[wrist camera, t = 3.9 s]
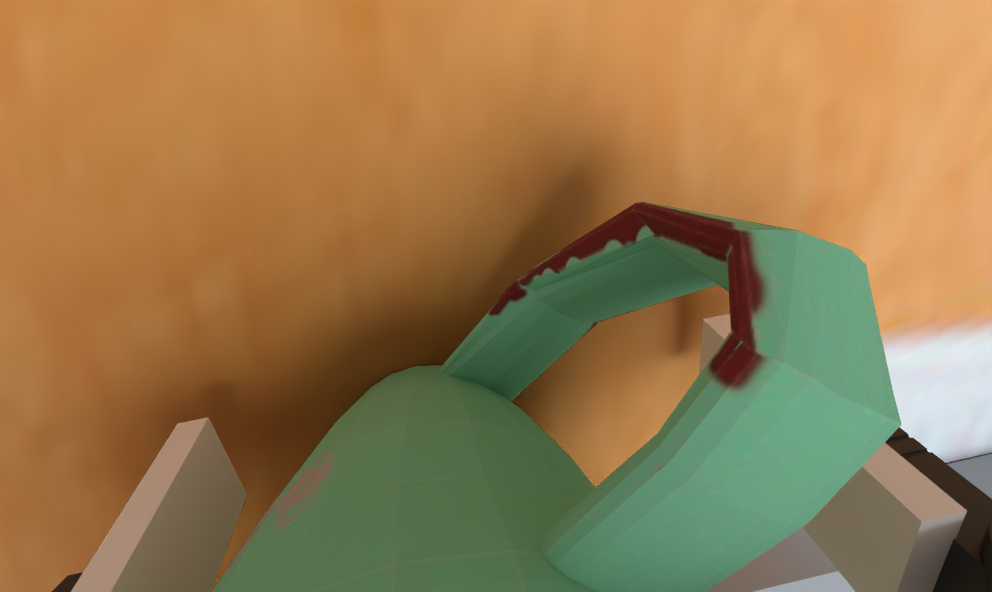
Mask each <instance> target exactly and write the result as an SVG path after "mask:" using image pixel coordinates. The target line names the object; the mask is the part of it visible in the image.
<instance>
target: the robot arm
mask: <svg viewBox="0 0 992 592" xmlns="http://www.w3.org/2000/svg"><path fill="white" fill-rule="evenodd" d="M730 331H731V323H730V314H726V315H721V316H716V317H711V318H706V319H703V322H702V340H701V358H700V373H701V372H702V371H703V369H704V368H705V366H706V365H707V364H708V362H709V361H710V359H711V358H712V357H713V355H714V354H715V352H716V351H717V350H718V348H719V347H720V345H721V344H722V343H723V341H724V340H725V338H726V337H727V336H728V334H729V333H730ZM246 497H247V493H246V491H245V489H244V487H243V485H242V483H241V481H240V479H239V477H238V475H237V473H236V471H235V469H234V467H233V465H232V463H231V461H230V459H229V457H228V455H227V453H226V451H225V449H224V447H223V445H222V443H221V441H220V439H219V437H218V435H217V433H216V431H215V429H214V427H213V425H212V423H211V421H210V419H209V417H207V418H202V419H197V420H192V421H187V422H182V423H177V425H176V427H175V428H174V430H173V431H172V433H171V435H170V436H169V438H168V439H167V441H166V442H165V444H164V446H163V447H162V449H161V450H160V452H159V453H158V455H157V457H156V458H155V460H154V461H153V463H152V464H151V466H150V468H149V469H148V471H147V472H146V474H145V476H144V477H143V479H142V480H141V482H140V483H139V485H138V487H137V488H136V490H135V491H134V493H133V494H132V496H131V498H130V499H129V501H128V502H127V504H126V505H125V507H124V509H123V510H122V512H121V513H120V515H119V517H118V518H117V520H116V521H115V523H114V524H113V526H112V528H111V529H110V531H109V532H108V534H107V535H106V537H105V539H104V540H103V542H102V543H101V545H100V546H99V548H98V550H97V551H96V553H95V554H94V556H93V558H92V559H91V561H90V562H89V564H88V565H87V567H86V569H85V570H84V572H83V573H78V574H73V575H69V576H67V577H66V578H65V579H64V580H63V581H62V582H61V583H60V584H59V585H58V586H57V587H56V588H55V589H54V590H53V591H52V592H211V590H212V587H213V585H214V582H215V579H216V577H217V574H218V571H219V569H220V566H221V563H222V561H223V558H224V555H225V553H226V550H227V547H228V545H229V542H230V539H231V537H232V534H233V531H234V529H235V526H236V523H237V521H238V518H239V515H240V513H241V510H242V507H243V505H244V502H245V499H246ZM803 528H804V529H805V531H806V532H807V533H808V534H809V536H810V537H811V538H812V539H813V540H814V542H815V543H816V544H817V545H818V547H819V548H820V549H821V550H822V551H823V553H824V554H825V555H826V556H827V558H828V559H829V560H830V561H831V562H832V564H833V565H834V566H835V567H836V568H837V570H838V571H839V572H840V573H841V575H842V576H843V577H844V578H845V579H846V581H847V582H848V583H849V584H850V586H851V587H852V588H853V589H854V590H855V592H992V499H991V498H990V497H989V496H987V495H986V494H985V493H984V492H982V491H981V490H980V489H978V488H977V487H976V486H974V485H973V484H972V483H971V482H969V481H968V480H967V479H965V478H964V477H963V476H962V475H960V474H959V473H958V472H956V471H955V470H954V469H953V468H951V467H950V466H949V465H947V464H946V463H945V462H943V461H942V460H941V459H940V458H938V457H937V456H936V455H934V454H933V453H932V452H931V453H929V452H928V451H927V448H925V447H924V446H923V445H921V444H920V443H919V442H918V441H916V440H915V439H914V438H909V436H908V434H907V433H906V432H905V431H903V430H902V429H901V428H898V429H897V430H896V431H895V432H894V433H893V434H892V435H891V436H890V437H889V439H888V440H887V441H886V442H885V443H884V444H883V445H882V446H881V447H880V448H879V449H878V450H877V451H876V452H875V453H874V454H873V455H872V457H871V458H870V459H869V460H868V461H867V462H866V463H865V464H864V465H863V466H862V467H861V468H860V469H859V470H858V471H857V472H856V473H855V474H854V476H853V477H852V478H851V479H850V480H849V481H848V482H847V483H846V484H845V485H844V486H843V487H842V488H841V489H840V490H839V491H838V492H837V494H836V495H835V496H834V497H833V498H832V499H831V500H830V501H829V502H828V503H827V504H826V505H825V506H824V507H823V508H822V509H821V510H820V512H819V513H818V514H817V515H816V516H815V517H814V518H813V519H812V520H811V521H810V522H809V523H808V524H806V525H805V526H803Z"/></svg>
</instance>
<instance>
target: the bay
mask: <svg viewBox="0 0 992 592" xmlns="http://www.w3.org/2000/svg"><path fill="white" fill-rule="evenodd" d="M947 465H949V466H950V467H951V468H953V469H954V470H955V471H956V472H958V473H959V474H960V475H962V476H963V477H964V478H965V479H967V480H968V481H969V482H971V483H972V484H973V485H974V486H976V487H977V488H978V489H980V490H981V491H982V492H984V493H985V494H986V495H987V496H989V497H990V498H991V499H992V454H988V455H984V456H979V457H975V458H970V459H966V460H962V461H957V462H953V463H949V464H947ZM706 592H855V590H854V589H853V588H852V587H851V586H850V584H849V583H848V582H847V581H846V579H845V578H844V577H843V576H842V575H841V573H840V572H839V571H838V570H837V568H836V567H835V566H834V565H833V564H832V562H831V561H830V560H829V559H828V558H827V556H826V555H825V554H824V553H823V551H822V550H821V549H820V548H819V547H818V545H817V544H816V543H815V542H814V540H813V539H812V538H811V537H810V536H809V534H808V533H807V532H806V531H805V529H804V528H803V527H802V528H800V529H799V530H797V531H796V532H794V533H793V534H791V535H790V536H788V537H787V538H785V539H784V540H782V541H781V542H779V543H778V544H776V545H775V546H773V547H772V548H770V549H769V550H767V551H766V552H764V553H763V554H761V555H760V556H758V557H757V558H755V559H754V560H752V561H751V562H749V563H748V564H747V565H745V566H744V567H742V568H741V569H739V570H738V571H736V572H735V573H733V574H732V575H730V576H729V577H727V578H726V579H724V580H723V581H721V582H720V583H718V584H717V585H715V586H714V587H712V588H711V589H709V590H708V591H706Z"/></svg>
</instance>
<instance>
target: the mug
mask: <svg viewBox="0 0 992 592" xmlns="http://www.w3.org/2000/svg"><path fill="white" fill-rule="evenodd" d="M716 285H720V286H721V287H723V288H724V289H726V290H727V291H729V302H730V323H731V331H730V333H729V334H728V336H727V337H726V338H725V340H724V341H723V343H722V344H721V345H720V347H719V348H718V350H717V351H716V352H715V354H714V355H713V357H712V358H711V359H710V361H709V362H708V364H707V365H706V366H705V368H704V369H703V371H702V372H701V373H700V375H699V376H698V378H697V379H696V380H695V382H694V383H693V385H692V386H691V387H690V389H689V390H688V392H687V393H686V394H685V396H684V397H683V399H682V400H681V401H680V403H679V404H678V406H677V407H676V408H675V410H674V411H673V413H672V414H671V415H670V417H669V418H668V420H667V421H666V422H665V424H664V425H663V427H662V428H661V429H660V431H659V432H658V434H656V435H655V436H654V437H653V438H652V439H651V440H650V441H648V442H647V443H646V444H645V445H644V446H643V447H642V448H640V449H639V450H638V451H637V452H636V453H635V454H634V455H632V456H631V457H630V458H629V459H628V460H627V461H625V462H624V463H623V464H622V465H621V466H620V467H619V468H617V469H616V470H615V471H614V472H613V473H612V474H611V475H609V476H608V477H607V478H606V479H605V480H604V481H603V482H601V483H600V484H599V485H598V486H597V487H596V488H595V487H594V486H593V484H592V483H591V482H590V481H589V479H588V478H587V477H586V476H585V474H584V473H583V472H582V471H581V469H580V468H579V467H578V466H577V464H576V463H575V462H574V461H573V459H572V458H571V457H570V456H569V455H568V454H567V453H566V452H565V451H564V450H563V449H562V448H561V447H560V446H559V445H558V444H557V443H556V442H555V441H554V440H553V439H552V438H551V437H550V436H549V435H548V434H547V433H546V432H545V431H544V430H543V429H542V428H541V427H539V426H538V425H537V424H536V423H535V422H534V421H533V420H532V419H531V418H530V417H529V416H528V415H527V414H526V413H525V412H524V411H523V410H522V409H520V408H519V407H518V406H516V405H515V404H514V403H512V402H511V401H512V400H513V399H515V398H516V397H517V396H518V395H519V394H520V393H521V392H522V391H523V390H524V389H525V388H527V387H528V386H529V385H530V384H531V383H532V382H533V381H534V380H535V379H536V378H538V377H539V376H540V375H541V374H542V373H543V372H544V371H545V370H546V369H547V368H549V367H550V366H551V365H552V364H553V363H554V362H555V361H556V360H557V359H558V358H560V357H561V356H562V355H563V354H564V353H565V352H566V351H567V350H568V349H569V348H571V347H572V346H573V345H574V344H575V343H576V342H577V341H578V340H579V339H580V338H582V337H583V336H584V335H585V334H586V333H587V332H588V331H589V330H590V329H591V328H593V327H594V326H595V325H596V324H597V323H598V322H600V321H603V320H606V319H610V318H613V317H616V316H619V315H622V314H626V313H629V312H632V311H635V310H638V309H641V308H645V307H648V306H651V305H654V304H657V303H661V302H664V301H667V300H670V299H673V298H677V297H680V296H683V295H687V294H690V293H693V292H696V291H700V290H703V289H706V288H709V287H713V286H716ZM900 426H901V421H900V417H899V414H898V410H897V406H896V402H895V398H894V395H893V390H892V386H891V381H890V376H889V372H888V367H887V362H886V358H885V353H884V349H883V344H882V339H881V335H880V330H879V325H878V321H877V316H876V312H875V307H874V302H873V298H872V293H871V288H870V283H869V278H868V273H867V267H866V264H865V263H864V262H863V261H862V260H861V259H859V258H858V257H857V256H856V255H855V254H854V253H853V252H852V251H851V250H849V249H846V248H844V247H841V246H838V245H836V244H833V243H830V242H827V241H825V240H822V239H819V238H816V237H814V236H811V235H808V234H806V233H803V232H800V231H797V230H791V229H786V228H781V227H775V226H770V225H764V224H759V223H754V222H748V221H743V220H737V219H732V218H727V217H721V216H716V215H710V214H705V213H700V212H694V211H689V210H683V209H678V208H673V207H667V206H662V205H656V204H651V203H645V202H640V203H635V204H633V205H632V206H630V207H629V208H627V209H625V210H624V211H622V212H621V213H619V214H617V215H616V216H614V217H613V218H611V219H609V220H608V221H606V222H605V223H603V224H602V225H600V226H598V227H597V228H595V229H594V230H592V231H590V232H589V233H587V234H586V235H584V236H582V237H581V238H579V239H578V240H576V241H575V242H573V243H571V244H570V245H568V246H567V247H565V248H563V249H562V250H560V251H559V252H557V253H555V254H554V255H552V256H551V257H549V258H548V259H546V260H544V261H543V262H541V263H540V264H538V265H536V266H535V267H533V268H532V269H530V270H529V271H527V272H525V273H524V274H522V275H521V276H519V277H518V278H517V279H516V280H515V281H514V282H513V284H512V285H511V286H510V287H509V288H508V289H507V291H506V292H505V293H504V294H503V295H502V296H501V298H500V299H499V300H498V301H497V302H496V303H495V305H494V306H493V307H492V308H491V309H490V310H489V312H488V313H487V314H486V315H485V316H484V317H483V319H482V320H481V321H480V322H479V323H478V324H477V325H476V327H475V328H474V329H473V330H472V331H471V332H470V334H469V335H468V336H467V337H466V338H465V339H464V341H463V342H462V343H461V344H460V345H459V346H458V348H457V349H456V350H455V351H454V352H453V353H452V355H451V356H450V357H449V358H448V359H447V360H446V362H445V363H444V364H443V365H428V366H414V367H411V368H408V369H405V370H402V371H399V372H396V373H392V374H390V375H389V376H387V377H386V378H384V379H383V380H381V381H380V382H378V383H377V384H375V385H374V386H372V387H371V388H370V389H369V390H368V391H367V392H366V393H365V394H364V395H363V396H362V397H361V398H360V399H359V400H358V401H357V402H355V403H354V404H353V405H352V406H351V407H350V408H349V409H348V410H347V411H346V412H345V413H344V414H343V415H342V416H341V417H340V418H339V419H338V420H337V421H336V423H335V424H334V425H333V426H332V428H331V429H330V430H329V432H328V433H327V434H326V435H325V437H324V438H323V439H322V440H321V442H320V443H319V444H318V446H317V447H316V448H315V449H314V451H313V452H312V453H311V455H310V456H309V457H308V458H307V460H306V461H305V462H304V464H303V465H302V466H301V468H300V469H299V470H298V471H297V473H296V474H295V475H294V477H293V478H292V479H291V480H290V482H289V483H288V484H287V486H286V487H285V488H284V490H283V491H282V492H281V493H280V495H279V496H278V497H277V499H276V500H275V501H274V503H273V504H272V505H271V506H270V508H269V509H268V510H267V512H266V513H265V514H264V515H263V517H262V518H261V520H260V521H259V522H258V524H257V525H256V527H255V528H254V530H253V531H252V533H251V534H250V536H249V537H248V539H247V540H246V542H245V543H244V545H243V546H242V548H241V549H240V551H239V552H238V554H237V555H236V557H235V558H234V559H233V561H232V562H231V564H230V565H229V567H228V568H227V570H226V571H225V573H224V574H223V576H222V577H221V579H220V580H219V582H218V583H217V585H216V586H215V588H214V589H213V591H212V592H706V591H708V590H709V589H711V588H712V587H714V586H715V585H717V584H718V583H720V582H721V581H723V580H724V579H726V578H727V577H729V576H730V575H732V574H733V573H735V572H736V571H738V570H739V569H741V568H742V567H744V566H745V565H747V564H748V563H749V562H751V561H752V560H754V559H755V558H757V557H758V556H760V555H761V554H763V553H764V552H766V551H767V550H769V549H770V548H772V547H773V546H775V545H776V544H778V543H779V542H781V541H782V540H784V539H785V538H787V537H788V536H790V535H791V534H793V533H794V532H796V531H797V530H799V529H800V528H802V527H803V526H805V525H806V524H808V523H809V522H810V521H811V520H812V519H813V518H814V517H815V516H816V515H817V514H818V513H819V512H820V510H821V509H822V508H823V507H824V506H825V505H826V504H827V503H828V502H829V501H830V500H831V499H832V498H833V497H834V496H835V495H836V494H837V492H838V491H839V490H840V489H841V488H842V487H843V486H844V485H845V484H846V483H847V482H848V481H849V480H850V479H851V478H852V477H853V476H854V474H855V473H856V472H857V471H858V470H859V469H860V468H861V467H862V466H863V465H864V464H865V463H866V462H867V461H868V460H869V459H870V458H871V457H872V455H873V454H874V453H875V452H876V451H877V450H878V449H879V448H880V447H881V446H882V445H883V444H884V443H885V442H886V441H887V440H888V439H889V437H890V436H891V435H892V434H893V433H894V432H895V431H896V430H897V429H898V428H899V427H900Z"/></svg>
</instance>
